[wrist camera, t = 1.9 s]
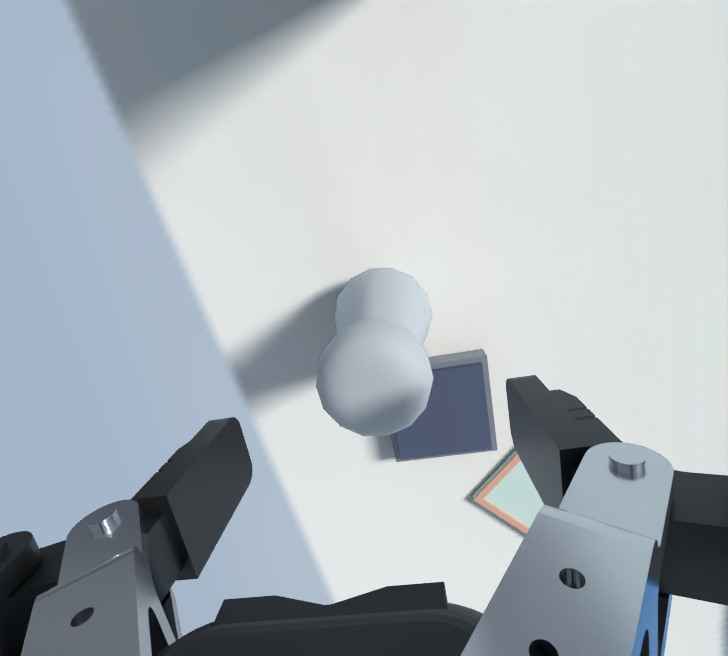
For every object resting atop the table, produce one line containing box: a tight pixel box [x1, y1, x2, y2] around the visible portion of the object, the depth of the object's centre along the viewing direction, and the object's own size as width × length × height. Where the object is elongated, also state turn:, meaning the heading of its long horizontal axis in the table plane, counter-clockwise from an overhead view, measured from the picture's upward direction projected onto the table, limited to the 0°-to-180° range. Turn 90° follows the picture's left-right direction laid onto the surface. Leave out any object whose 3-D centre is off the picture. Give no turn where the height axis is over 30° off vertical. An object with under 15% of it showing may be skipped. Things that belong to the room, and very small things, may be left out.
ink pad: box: [391, 349, 497, 462], centre depth 27 cm, size 7×7×2 cm
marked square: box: [472, 450, 544, 534], centre depth 28 cm, size 8×8×1 cm
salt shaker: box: [316, 268, 433, 436], centre depth 20 cm, size 6×6×13 cm
